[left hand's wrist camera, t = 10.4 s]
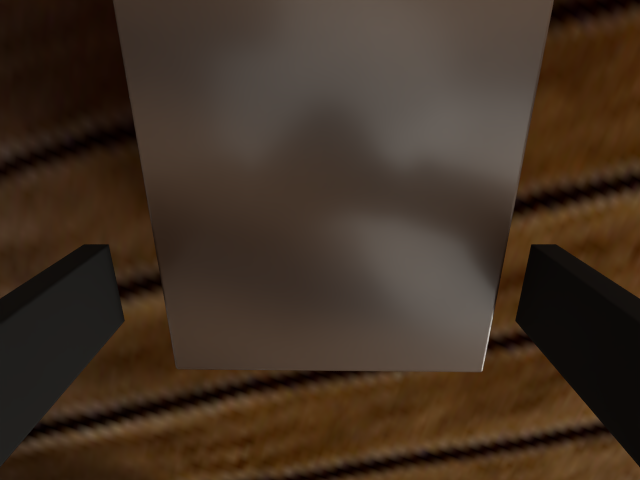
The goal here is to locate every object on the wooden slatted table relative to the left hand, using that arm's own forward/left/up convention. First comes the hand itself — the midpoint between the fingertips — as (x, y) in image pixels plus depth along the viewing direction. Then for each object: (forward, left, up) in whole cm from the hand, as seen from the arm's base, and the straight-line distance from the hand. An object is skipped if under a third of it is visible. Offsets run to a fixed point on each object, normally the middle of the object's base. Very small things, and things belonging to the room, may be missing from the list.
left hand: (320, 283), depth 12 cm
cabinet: (+2, +6, -9) cm, 11 cm away
